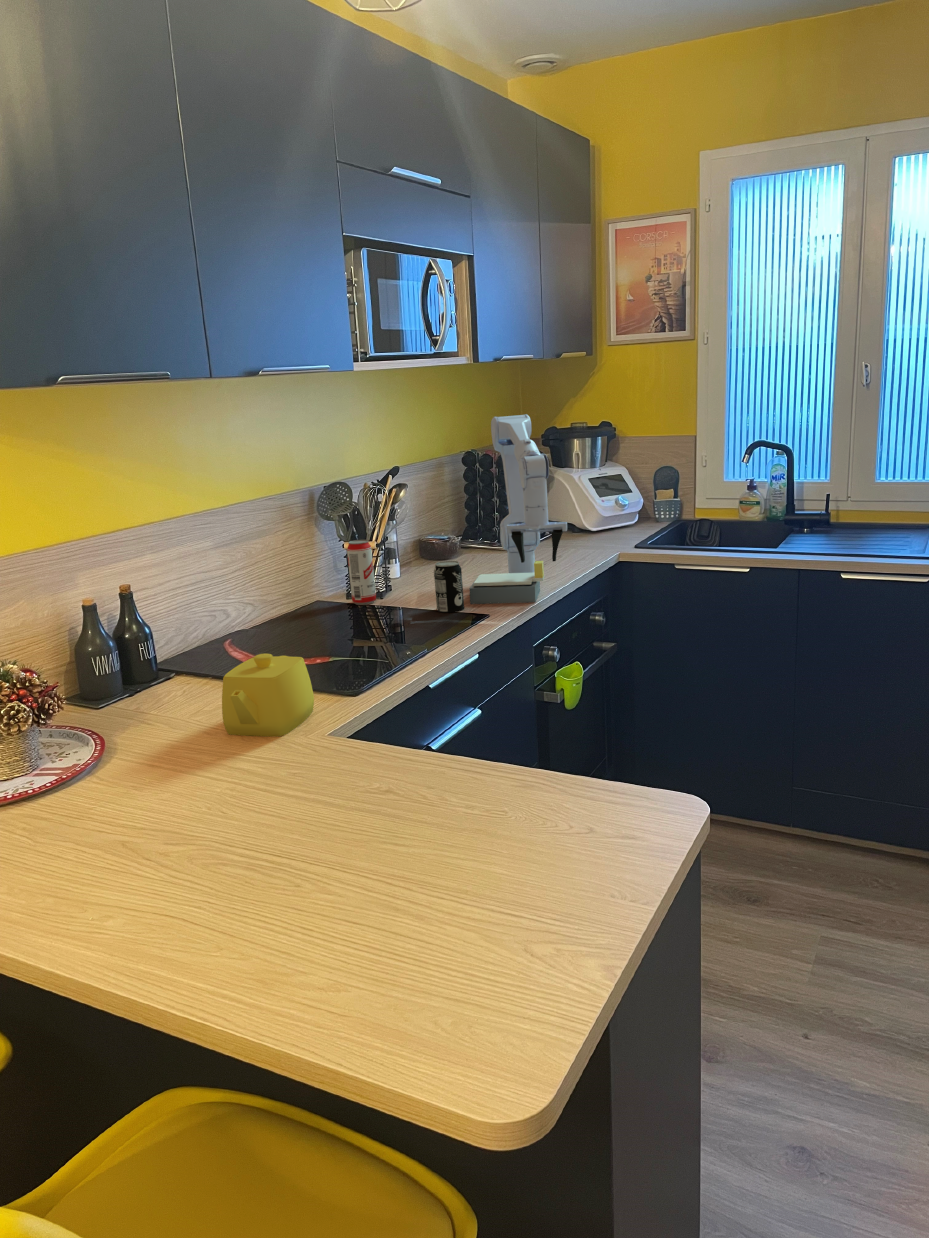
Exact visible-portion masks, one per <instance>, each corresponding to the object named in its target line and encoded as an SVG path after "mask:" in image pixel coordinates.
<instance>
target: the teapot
mask: <svg viewBox="0 0 929 1238" xmlns="http://www.w3.org/2000/svg"><path fill="white" fill-rule="evenodd" d="M310 677H311V676H310V674H309V671H308V668H307V665H306V663H305V659H304V658H303V657H302V656H289V655H279V656H278V655H277V656H274V655H273V654H271V653H259V654H255V656H253V657H251V658H249V659H247V660H245V661H244V662H241V663H240V664H238V665H237V666H235V667H234V668H232V669H231V670H229V671H228V672H227V673H225V675H224V676H223V678H222V691H221V692H222V693H221V711H222V721H223V726H224V729H225V730H226V733H227V734H228V735H230V736H241V737H277V738H279V737H284V736H286V735H287V734H289V733H290V732H292V731H293V730H295V729H296V728H298V727H299V726H300V725H302V724H303V723H305V721H306V720H307V719H308V718H309V717H310V716H311V714H312V713H313V710H314V706H315V697H314V691H313V685H312V681H311V678H310Z"/></svg>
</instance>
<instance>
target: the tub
mask: <svg viewBox="0 0 929 1238" xmlns="http://www.w3.org/2000/svg"><path fill="white" fill-rule="evenodd" d="M475 581H476V579H475V580H474V581H473V582H472V584H471V585H470V586H469V588H468V589H469V603H470V605H485V604H486V605H487V604H488V605H489V604H494V605H495V604H521V603H523V604H524V603H526V604H528V603H530V604H531V603H536V602H537V600H538V598H539V595H540V592H541V581H539V582H532V583H531V584H529V585H527V586H509V587H506V586H508V585H503V587H487V586H474V582H475Z"/></svg>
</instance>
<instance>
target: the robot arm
mask: <svg viewBox="0 0 929 1238" xmlns="http://www.w3.org/2000/svg"><path fill="white" fill-rule="evenodd" d="M531 420H532V419H531V417H530V416H529V415H528V414H527V413H526V414H525V413H524V414H520V415H519V414H518V415H508V416H507V415H505V416H493V417H492V419H491V421H490V429H491V430H490V432H491V439H492V440H491V441H492V446H493V449H494V451H496V452H498V453H500V457H501V460H502V466H503V473H504V474H503V475H504V483H505V492H506V501H507V508H508V514H507V515H506V516H505V517H504V518H503V519H501V521H500V524H499V529H500V530H499V532H500V533H499V537H500V538H499V539H500V545H501V548H502V549H503V550H505V551H507V552H506V553H507V566H508V567H507V568H508V573H534V563H535V561H536V559H535V557H536V556H535V551H536V550H537V548H538V547H539V545H540V543H541V533H545V532H546V533H547V532H551V543H552V544H551V545H552V555H551V556H552V557H551V558H552V562H556V561H557V554H558V553H557V552H558V549H559V545H560V541H561V538H562V536H563V533H564V532H567V531H568V522H567V521H561V522H560V521H549V507H548V506H549V505H548V504H549V503H548V502H549V501H548V488H547V487H548V485H547V484H548V483H547V479H548V478H549V476H550V462H549V458H548V456H547V454H546V453H541V452H540V451H539V448H538V446H537V444H536V443H535V441H534V440H532V439H530V438H531V436H532V421H531Z"/></svg>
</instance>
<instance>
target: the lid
mask: <svg viewBox="0 0 929 1238" xmlns="http://www.w3.org/2000/svg"><path fill="white" fill-rule="evenodd" d="M544 566H545V565H544V560H535V563H534V573H509V572H505V573H483V574H481V573H480V574H479V575H478V576H477V577H476V578H475V580H476V581H475V580H474V581H475V582H474V581H473V583H474V586H497V585H529V584H531V583H532V582H539V581H540V582H544V579H545V572H544V571H545V570H544V568H545V567H544Z"/></svg>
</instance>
